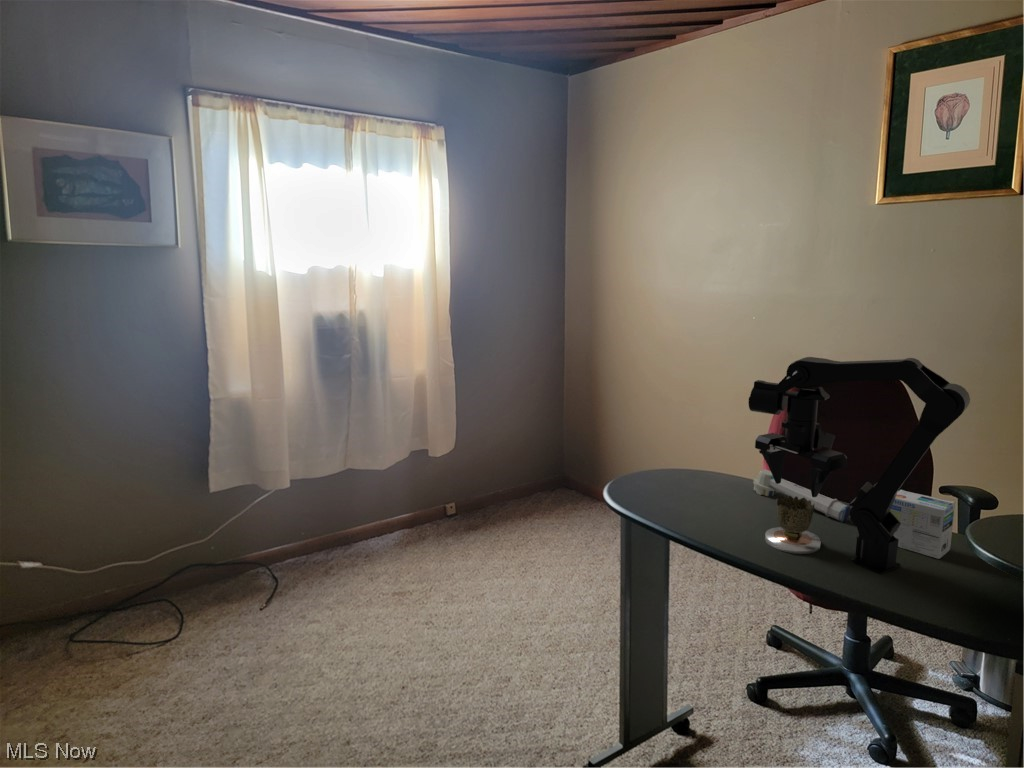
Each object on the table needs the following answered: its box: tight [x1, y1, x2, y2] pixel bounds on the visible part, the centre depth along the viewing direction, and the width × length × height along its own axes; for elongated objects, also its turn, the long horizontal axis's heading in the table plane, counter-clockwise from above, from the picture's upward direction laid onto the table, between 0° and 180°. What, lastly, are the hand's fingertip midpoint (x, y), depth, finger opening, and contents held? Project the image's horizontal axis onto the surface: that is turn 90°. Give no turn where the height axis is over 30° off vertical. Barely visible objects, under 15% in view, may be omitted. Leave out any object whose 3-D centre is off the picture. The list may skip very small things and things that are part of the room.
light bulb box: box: [890, 489, 956, 560], centre depth 139 cm, size 11×7×11 cm, turn 41°
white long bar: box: [752, 469, 852, 523], centre depth 164 cm, size 5×7×25 cm
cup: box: [776, 495, 815, 539], centre depth 142 cm, size 8×7×8 cm
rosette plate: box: [764, 526, 821, 555], centre depth 143 cm, size 11×11×1 cm
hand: (795, 489), depth 140 cm, fingers open, 9 cm apart
